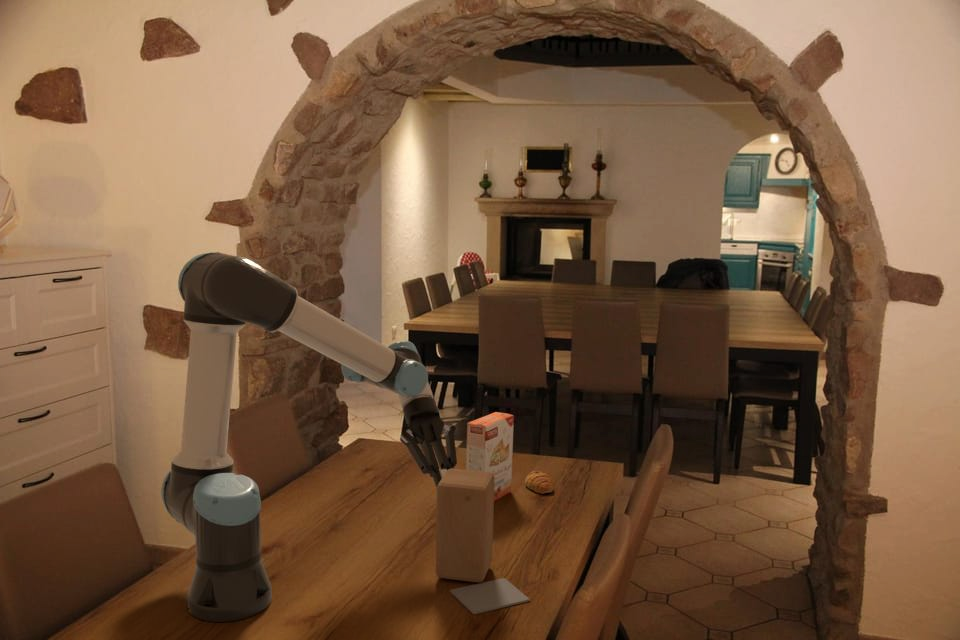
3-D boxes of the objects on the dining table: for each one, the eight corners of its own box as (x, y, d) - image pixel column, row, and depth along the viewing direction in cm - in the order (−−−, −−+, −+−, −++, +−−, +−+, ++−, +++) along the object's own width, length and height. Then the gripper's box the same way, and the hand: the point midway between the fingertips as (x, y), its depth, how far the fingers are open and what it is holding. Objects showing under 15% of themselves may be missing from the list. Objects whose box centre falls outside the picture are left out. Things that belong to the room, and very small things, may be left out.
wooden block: (483, 585, 167) (486, 489, 163) (434, 579, 169) (435, 484, 165) (492, 561, 177) (495, 470, 173) (446, 556, 179) (447, 466, 175)
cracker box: (484, 508, 209) (486, 426, 206) (464, 503, 212) (465, 422, 209) (513, 492, 220) (514, 413, 217) (493, 487, 224) (494, 410, 220)
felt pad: (473, 614, 156) (473, 612, 156) (450, 591, 165) (450, 589, 165) (529, 601, 162) (529, 599, 162) (504, 579, 171) (504, 577, 171)
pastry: (559, 493, 220) (560, 479, 220) (536, 496, 218) (536, 482, 218) (544, 482, 229) (545, 468, 229) (521, 485, 227) (522, 471, 226)
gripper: (395, 398, 184) (427, 496, 172) (449, 392, 190) (484, 487, 178) (386, 416, 189) (416, 513, 177) (439, 409, 195) (472, 502, 183)
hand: (450, 499), depth 178 cm, fingers closed
